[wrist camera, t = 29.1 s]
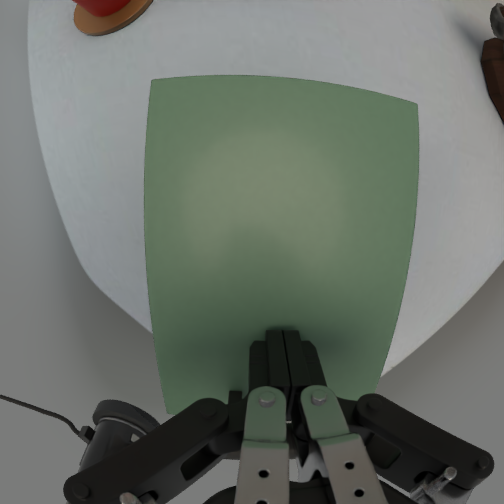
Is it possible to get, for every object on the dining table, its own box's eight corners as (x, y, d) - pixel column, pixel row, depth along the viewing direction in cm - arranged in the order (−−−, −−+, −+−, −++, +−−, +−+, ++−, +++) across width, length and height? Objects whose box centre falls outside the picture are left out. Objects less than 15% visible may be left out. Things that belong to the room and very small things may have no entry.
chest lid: (363, 404, 15) (388, 461, 10) (169, 405, 15) (150, 468, 10) (409, 106, 11) (474, 82, 6) (156, 85, 10) (109, 38, 6)
